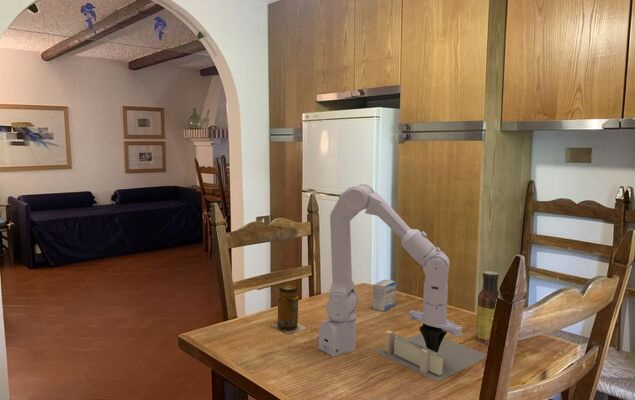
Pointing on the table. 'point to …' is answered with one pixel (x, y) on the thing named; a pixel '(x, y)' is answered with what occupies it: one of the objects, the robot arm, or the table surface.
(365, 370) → the table surface
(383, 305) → the medicine box
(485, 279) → the sauce bottle
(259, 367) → the table surface
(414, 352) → the gate
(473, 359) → the grey square baseplate
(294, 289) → the condiment
